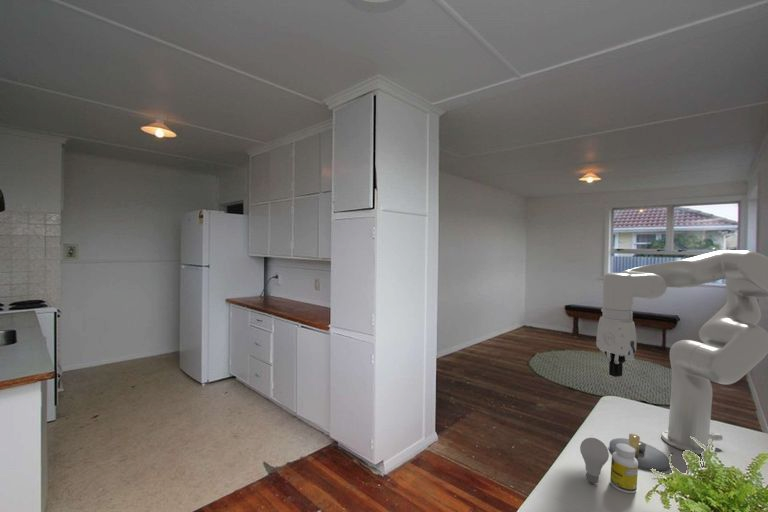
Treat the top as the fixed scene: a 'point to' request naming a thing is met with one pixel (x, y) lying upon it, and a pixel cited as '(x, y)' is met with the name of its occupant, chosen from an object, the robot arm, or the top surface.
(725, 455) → the top surface
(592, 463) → the lightbulb
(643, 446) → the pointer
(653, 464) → the dial plate
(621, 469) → the supplement bottle
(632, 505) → the top surface
